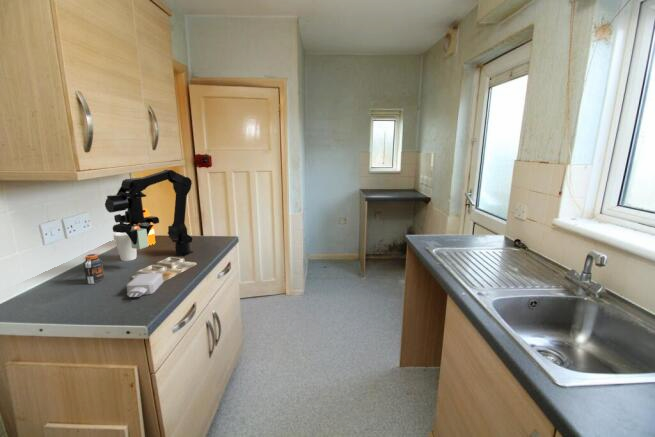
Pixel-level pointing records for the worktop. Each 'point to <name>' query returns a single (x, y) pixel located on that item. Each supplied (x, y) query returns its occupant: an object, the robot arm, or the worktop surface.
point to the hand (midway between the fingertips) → (139, 242)
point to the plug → (141, 239)
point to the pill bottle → (93, 269)
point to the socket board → (167, 267)
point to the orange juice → (151, 234)
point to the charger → (144, 284)
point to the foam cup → (124, 246)
